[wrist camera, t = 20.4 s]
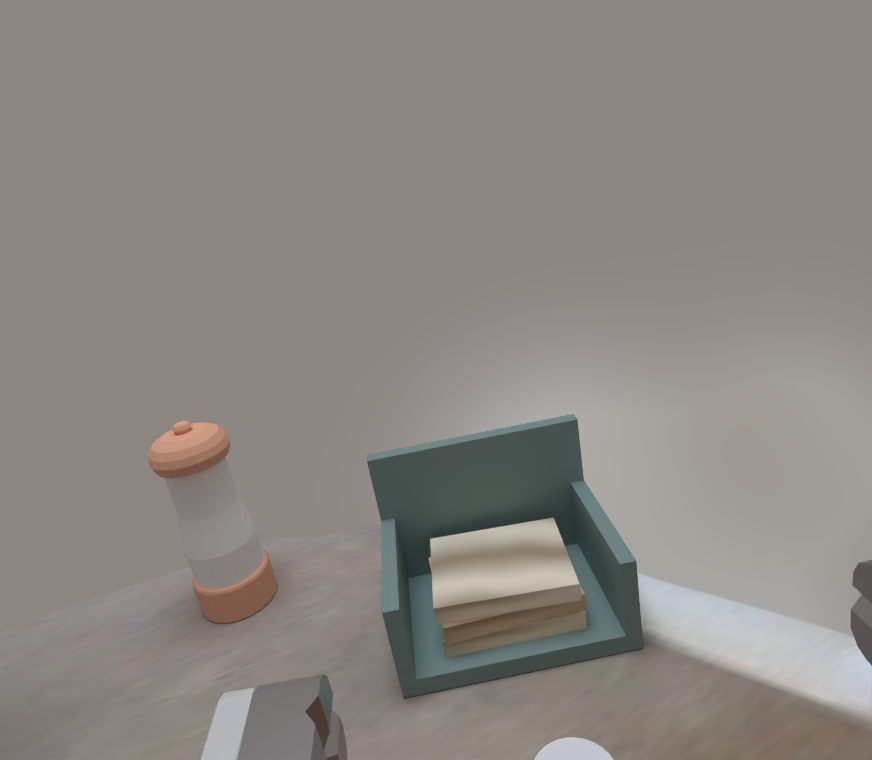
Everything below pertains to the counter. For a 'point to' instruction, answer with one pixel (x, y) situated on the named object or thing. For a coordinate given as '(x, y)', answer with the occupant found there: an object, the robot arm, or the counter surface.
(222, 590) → the pepper shaker
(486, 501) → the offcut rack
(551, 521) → the birch offcut top
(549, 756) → the supplement bottle
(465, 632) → the board
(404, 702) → the counter surface
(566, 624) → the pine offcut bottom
